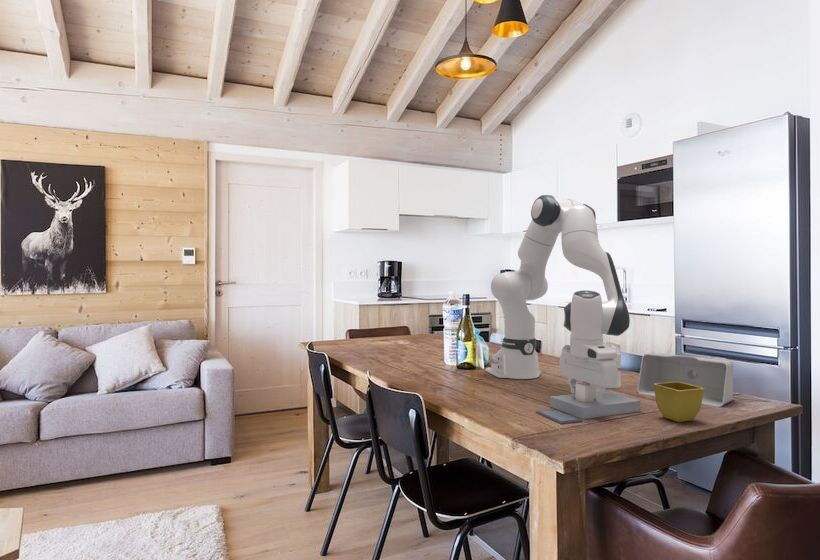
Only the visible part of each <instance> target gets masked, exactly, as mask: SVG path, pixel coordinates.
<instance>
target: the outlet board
mask: <svg viewBox="0 0 820 560" xmlns="http://www.w3.org/2000/svg"><path fill="white" fill-rule="evenodd" d="M549 401H550V403H549V405H550V408H551V409H552V408H553V409H554V410H558V411H560V412H563V413H565V414H568V415H570V416H573V417H575V418H578V419H581V420H585V419H587V420H588V419H594V418H602V417H607V416H608V417H609V416H617V415H622V414H623V415H624V414H631V413H638V412H641V400H639V399H636V398H632V397H628V396H625V395H622V394H618V393H614V392H611V391H607V390H605V392H604V394H603V395H602V401H601V402H597V401H595V402H587V403H584V402H581V401H578V400H576V394H572V393H570V394H560V395H553V396H552V395H551V396H550V399H549Z"/></svg>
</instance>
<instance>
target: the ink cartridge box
mask: <svg viewBox="0 0 820 560" xmlns="http://www.w3.org/2000/svg"><path fill="white" fill-rule="evenodd" d="M605 344H606V345H608V346H609V347H611V348H612V349H614V350H615V351H616V352H617V358H614V360H615V361H616V363H617V384H616V386H615V387H611V388H610V389H620V388H622V384H621V382H622V381H621V380H622V379H621V377H622V374H621V373H622V353H621V344H619V343H616V342H611V341H606V342H605ZM612 346H613V347H612Z"/></svg>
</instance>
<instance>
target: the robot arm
mask: <svg viewBox="0 0 820 560" xmlns="http://www.w3.org/2000/svg"><path fill="white" fill-rule="evenodd" d="M530 216H531V221H530V223H529V225H528V227H527V228H526V231H525V233H524V235H523V238H522V241H521V243H520V246H519V248H518V250H517V257H518V258H519V260H520V266H519V269H518V271H505V272H501V273H499V274H496V275H495V276H493V278H492V280H491V283H490V291H491V293H492V296H493V297H494V298H495V299H496V300H497V301H498V302H499V305H500V307H501V310H502V314H503V321H504V337H503V338H501V340H500V342H501V348H500V349H499V350H497V352H495V353H494V354H493V355H492V358H491V366H490V367H486V368H485V372H486V373H489V374H491V375H492V376H494V377H496V378H498V379H499V378H500V379H513V380H531V379H537V378H539V377H540V375H542V371H541V370H540V365H539V354H538V352H537V351H536V348H537V340H536V339H537V338H536V337H535V336H536V335H535V331H536V330H535V329H536V328H535V327H536V325H535V324H536V323H535V321H536V320H535V315H533V314H532V313H531V312H530V310H529V308H528V305H527V301H534V300H537V299H540V298H543V297H544V296H545V295H546V293H547V291H548V287H549V283H548V280H547V278H546V269H547V264H548V261H549V259H550V256H551V254H552V251H553V250H554V247H555V244H556V241H557V239H558V236H559V234H560V233H561V237H560V238H561V249H562V250H561V251H562V254H563V255H562V256H563V257H564V259H566V260H567V262H568V263H570V264H572V265H573V266H575V267H576V268H577V267H578V268H580V269H583V270H586V271H589V272H592V273H593V274H595V275H597V276H599V277H600V279H601V280H602V283H603V287H604V290H605V293H606V298H607V299H606V301H603V300H602V295H601V294H600V293H599V292H597V291H594V290H577V291H575V292H573V294H572V298H571V302H569V303H568V304H566V305H565V307H564V308H563V312H564V314H563V315H564V320H563V327H564V328H565V329H566V330H568V331H569V332H570V337H569V341H570V342H569V344H565V345H564V346H563V347H562V348H561V353H560V356H559V364H558V365H559V366H558V372H559V375H560V376H561V377H565V378H567V382H568V384H569V387H570V394H576V383H577V382H578V381H579V382H586V383H590V384H593V385H596V389H597V393H596V394H594V401H597V402H601V401H602V395H603V394H604V392H605V391H607V389H612V388H611V387H615V386H616V384H617V363H616V361H615V360H614V358H617V352H616V351H615V350H614V349H612V348H613V347H612V346H611V347H612V348H611V347H609V346H608V345H606V342H604V336H603V335H608V336H617V337H619V336H620V335H622V334H624V333H625V332H627V330H629V328H630V323H631V316H630V312H629V310H628V307H627V304H626V301H625V299H624V295H623V291H622V289H621V284H620V281H619V276H618V273H617V270H616V265H615V263H614V260H613V257H612V256H611V254H610V252H607V251H606V250H604V249H603V248H602V245H601V244H600V241H599V235H598V234H599V233H598V226H597V225H598V224H597V222H596V219H597V218H596V217H597V216H596V211H595V210H594V208H593V207H591V206H589V205H588V204H586V203H581V202H579V201H576V200H574V199H571V198H570V199H569V198H564V197H558V196H554V195H549V194H542V195H539V196H538V197H537V198H536V199H535V200H534V202H533V203H532V207H531V210H530Z"/></svg>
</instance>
